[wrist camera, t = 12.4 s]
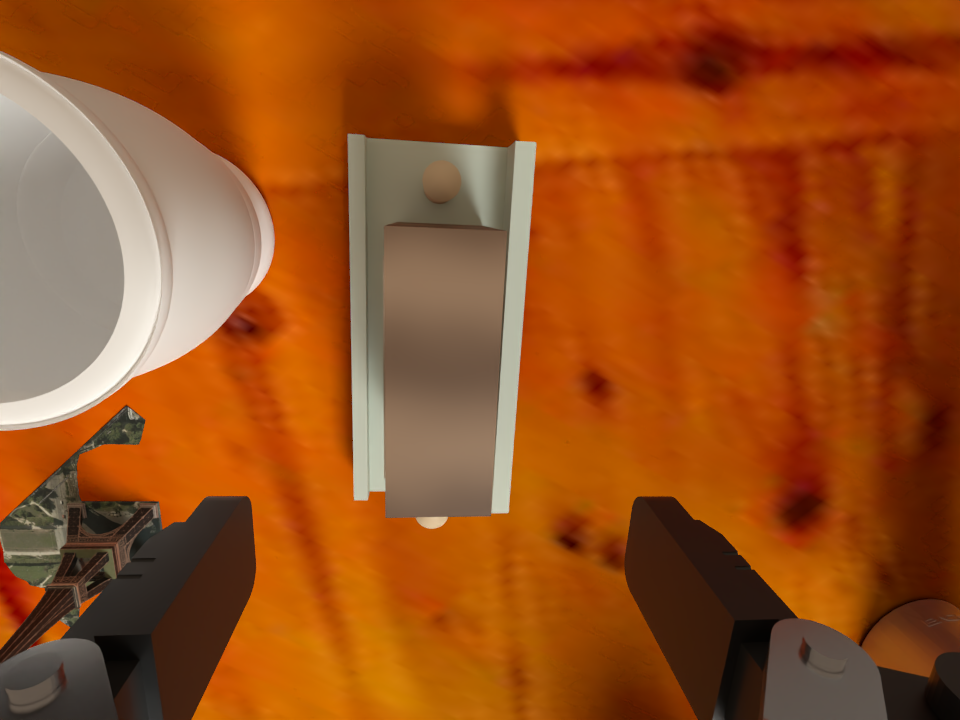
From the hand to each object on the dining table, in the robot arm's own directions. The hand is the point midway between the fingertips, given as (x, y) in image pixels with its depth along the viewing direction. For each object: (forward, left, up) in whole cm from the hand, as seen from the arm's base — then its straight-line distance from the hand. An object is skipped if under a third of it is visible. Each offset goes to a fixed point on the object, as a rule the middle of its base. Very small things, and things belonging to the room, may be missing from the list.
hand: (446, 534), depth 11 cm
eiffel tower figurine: (-14, +20, -21) cm, 32 cm away
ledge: (0, 0, -21) cm, 21 cm away
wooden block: (0, 0, -19) cm, 19 cm away
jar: (+5, +13, -21) cm, 25 cm away
